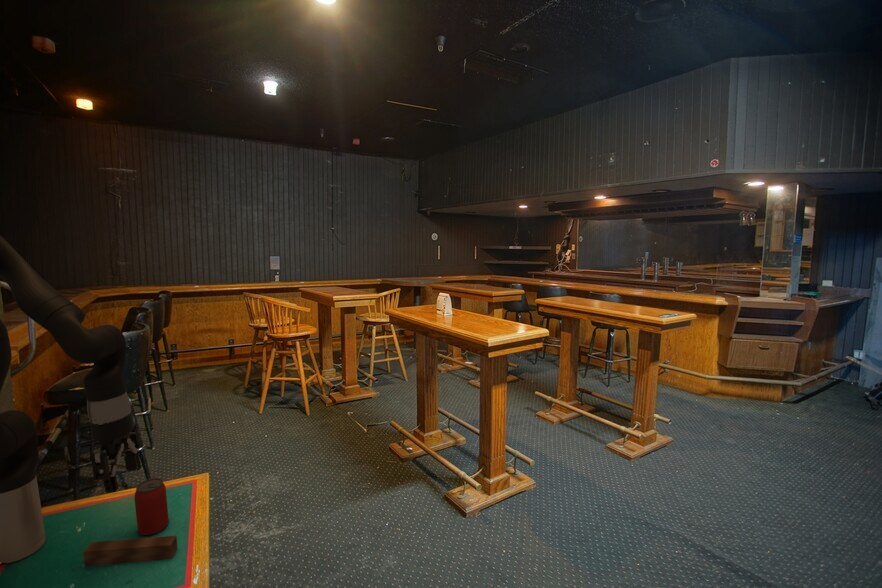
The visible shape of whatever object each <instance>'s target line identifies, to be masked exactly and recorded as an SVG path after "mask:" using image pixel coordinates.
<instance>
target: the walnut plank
mask: <svg viewBox="0 0 882 588" xmlns="http://www.w3.org/2000/svg"><path fill="white" fill-rule="evenodd" d="M177 551H178V540H177V535H165V536H155V537H141V538H140V537H139V538H128V539H127V538H126V539H115V540H113V539H112V540H101V541H91V543H89V545H88V546H87V547H86V548H85V549H84V550H83V552H82V553H83V555H82V556H83V560H84V561H83V562H84V567H86V568H87V567H94V566H95V567H97V566H107V565H118V564H129V563H130V564H131V563H144V562H154V561H155V562H156V561H165V560H172V559H173V558H174V557H175V555H176V553H177Z"/></svg>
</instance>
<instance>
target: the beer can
mask: <svg viewBox="0 0 882 588" xmlns="http://www.w3.org/2000/svg"><path fill="white" fill-rule="evenodd" d="M166 487H167V486H166V485H165V483H164V481H163V479H161V478H158V477H152V478H148V479H146V480H143V481H142V482H140V483H139V484H138V485H137V486H136V487H135V491H134V497H133V498H134V507H135V508H134V509H135V517H136V518H135V519H136V527H137V532H138V533H139V534H140V535H142V536H150V535H154V534H157V533H159V532H161V531H162V530H164V529H165V528H166V527H167V526H168V524H169V521H170V520H169V511H168V510H169V509H168V498H167V497H168V495H167V488H166Z"/></svg>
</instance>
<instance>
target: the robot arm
mask: <svg viewBox="0 0 882 588" xmlns="http://www.w3.org/2000/svg"><path fill="white" fill-rule="evenodd" d="M0 278H1V280H3V281H4V283H6V285H7V286H8V288H9V289H10V290H11V293H12V296H13V299H14V300H15V302H16V305H17V306H18V309H20V311H22V312H23V313H24V314H25V315H26V316H27V317H28V318H29V319H30V320H32V321H34V322H35V323H36V324H38V325H39V326H40V327H42V329H44V330H46V331H48V332H49V333H50V335H51V337H53V339H54V340H55V342H56V343H57V344H58V346H59V347H60V348H61V349H62V350H63V352H64V354H66V355H67V356H68V358H70V359H72V360H73V361H75V362H77V363H80V364H85V365H92V364H93V365H92V368H91V370H90V371H88V373H87V374H85V375H84V378H83V387H84V394H85V397H86V404H87V406H86V409H87V411H86V412H87V415H88V421H89V427H90V431H91V436H92V439H93V440H94V441H96V442H98V443H99V444H100V449H99V451H98V452H93V453H91V454H90V461H91V467H92V473H93V474H92V475H93V480H94V481H100V480H101V481H103V487H104V491H105V493H106V494H109V493H115V492H117V491H118V490H119V485H118V478H117V475H116V473H117V468H118V466H119V465H120V464H121V463H120V462H121V459H122V456H123V455H124V457H123V458H124V463H125V469H126V471H128V472H131V471H136V470H137V469H138V468H139V464H138V458H137V453H138V449H139V448H140V447H141V446H142V444H141V440H140V433H139V431H138V430H139V429H138V427H137V424H134V419H133V418H134V417H133V412H132V407H131V403H130V402H131V401H130V399H129V396H128V393H127V388H126V382H125V376H124V371H125V370H124V369H125V365H126V353H127V341H126V338H125V335H124V334H123V331H121V329H120V328H119V327H116V326H115V325H112V324H101V325H99V326H96V327H92V328H89V329H87V328H86V327H85V326H84V325H83V324H82V323H83V322H84V320H85V317H86V313H85V312H84V311H83V309H82V308H81V307H79V306H78V305H77V304H75V303H74V302H73V301H71V300H70V299H69V298H67V297H66V296H65V295H63V294H62V293H60V292H59V291H58V290H57V289H55V287H53V286H52V285H50V283H48V282H47V281H46V280H45V279H44V278H42V277H41V275H40V274H39V273H37V272H36V270H34V269H33V267H32V266H31V265H30V263H28V262H27V261H26V260H25V259H24V258H23V257H22V256H21V255H20V254H19V253H18V252H17V251H16V250H15V249H14V248H13V246H12V245H11V244H10V243H9V242H8V240H6V239H5V238H4V237H3V236H1V235H0ZM10 342H11V341H10V336H9V331H8V329H7V327H6V325H5V323H4V322H3V320H1V318H0V394H1V393H2V389H3V386H4V383H5V381H6V378H7V375H8V373H9V369H10V367H11V363H12V347H11V343H10ZM38 437H39V436H38V431H37V425H36V424H35V422H34V420H33V418H32V417H31V416H30V415H29V414H28V413H26V412H24V411H21V410H18V409H11V410H10V409H9V410H5V411H3V412H0V562H1V563H6V564H11V563H14V562H17V561H20V560H23V559H25V558H27V557H29V556H31V555H32V554H34V553H36V552H37V551H38V550H39V549H41V548H42V547H43V546H44V545H45V543H46V533H45V525H44V518H43V512H42V511H43V510H42V505H41V499H40V493H39V485H38V478H37V468H38V464H39V462H40V461H39V459H40V454H39V452H40V451H39V438H38ZM133 441H134V442H133ZM6 564H5V565H6Z"/></svg>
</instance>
